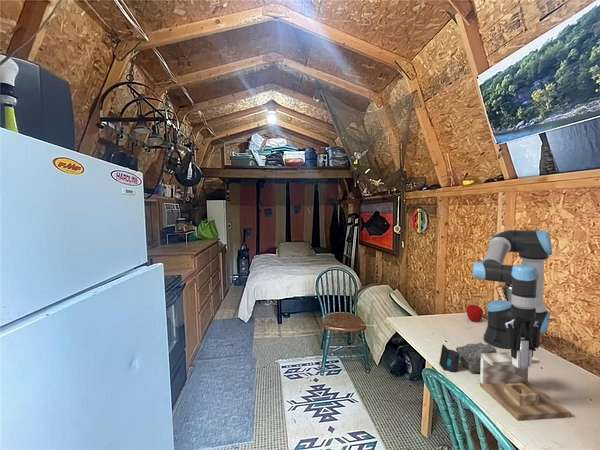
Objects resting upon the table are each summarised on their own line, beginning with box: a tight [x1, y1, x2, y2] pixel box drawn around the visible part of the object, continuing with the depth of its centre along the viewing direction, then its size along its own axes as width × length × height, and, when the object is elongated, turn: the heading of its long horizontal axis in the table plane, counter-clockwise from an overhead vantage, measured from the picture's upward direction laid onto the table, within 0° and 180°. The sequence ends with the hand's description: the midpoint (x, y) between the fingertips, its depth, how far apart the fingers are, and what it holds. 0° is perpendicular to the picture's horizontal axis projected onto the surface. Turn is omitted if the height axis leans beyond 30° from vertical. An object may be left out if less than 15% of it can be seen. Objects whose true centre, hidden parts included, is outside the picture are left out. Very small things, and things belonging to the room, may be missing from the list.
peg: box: [515, 336, 529, 378], centre depth 110 cm, size 4×4×14 cm
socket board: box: [479, 351, 571, 422], centre depth 113 cm, size 20×20×14 cm
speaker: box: [439, 344, 460, 373], centre depth 135 cm, size 8×6×10 cm
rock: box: [455, 342, 498, 374], centre depth 136 cm, size 18×13×15 cm
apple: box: [465, 304, 484, 322], centre depth 190 cm, size 10×10×11 cm
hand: (521, 365), depth 110 cm, fingers closed on peg, 4 cm apart
